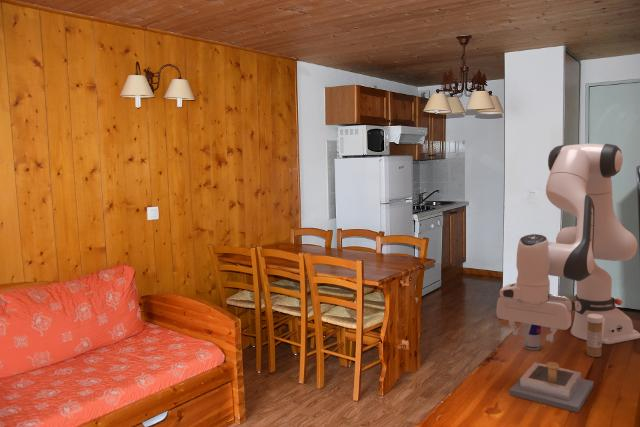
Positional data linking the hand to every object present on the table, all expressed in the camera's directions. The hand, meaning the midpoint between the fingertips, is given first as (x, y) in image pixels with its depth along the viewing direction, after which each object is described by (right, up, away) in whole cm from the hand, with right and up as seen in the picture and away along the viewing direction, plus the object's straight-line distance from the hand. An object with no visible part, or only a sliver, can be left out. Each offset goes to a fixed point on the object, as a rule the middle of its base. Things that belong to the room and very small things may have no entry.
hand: (532, 337), depth 155 cm
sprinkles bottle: (+28, -11, +21) cm, 37 cm away
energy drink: (+11, -10, +29) cm, 33 cm away
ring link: (+5, -13, -2) cm, 14 cm away
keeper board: (+5, -15, -2) cm, 16 cm away
